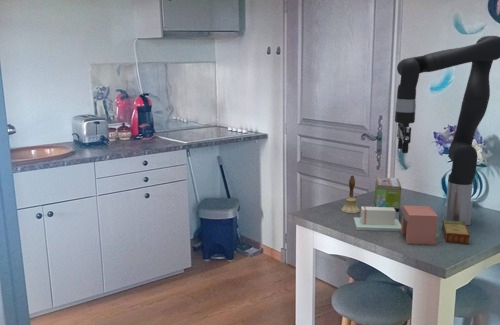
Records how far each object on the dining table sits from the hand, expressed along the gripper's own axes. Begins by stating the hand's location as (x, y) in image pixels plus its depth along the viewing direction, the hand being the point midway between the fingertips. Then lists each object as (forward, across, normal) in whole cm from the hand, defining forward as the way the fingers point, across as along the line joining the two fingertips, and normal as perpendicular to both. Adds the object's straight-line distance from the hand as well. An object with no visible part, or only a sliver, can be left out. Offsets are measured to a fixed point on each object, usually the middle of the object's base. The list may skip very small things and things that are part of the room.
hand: (402, 150), depth 202 cm
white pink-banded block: (+29, -5, +9) cm, 31 cm away
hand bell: (+30, +14, +18) cm, 38 cm away
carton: (+31, -14, -19) cm, 39 cm away
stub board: (+30, -5, +9) cm, 32 cm away
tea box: (+30, +11, +3) cm, 32 cm away
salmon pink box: (+30, -18, -4) cm, 35 cm away
